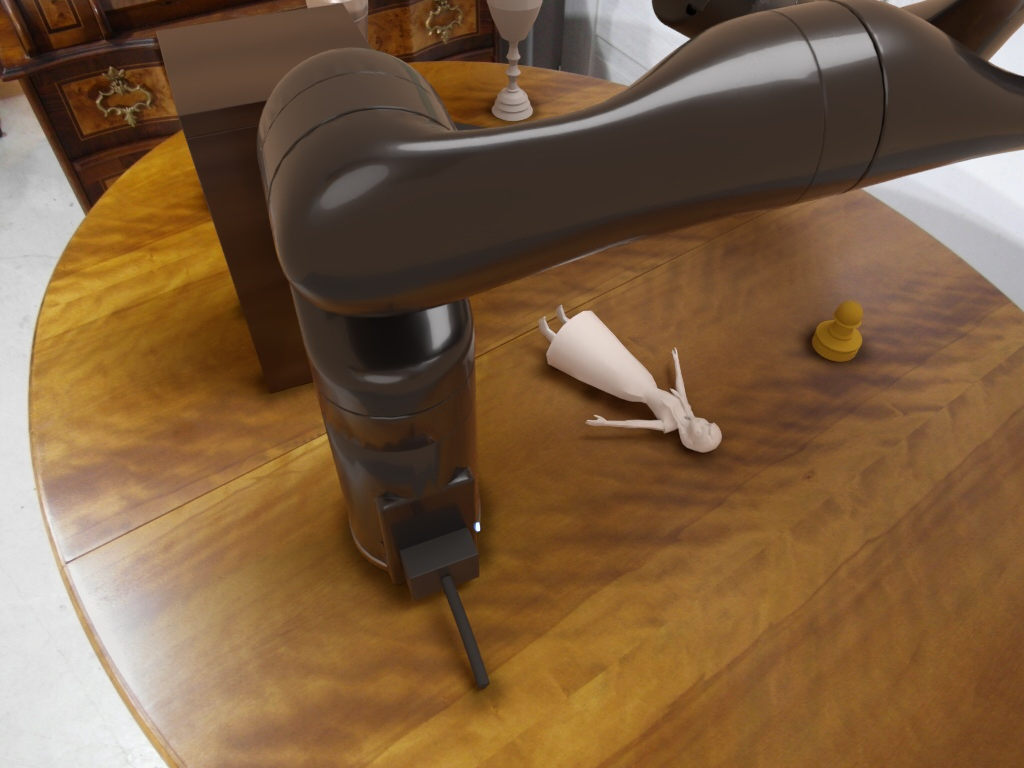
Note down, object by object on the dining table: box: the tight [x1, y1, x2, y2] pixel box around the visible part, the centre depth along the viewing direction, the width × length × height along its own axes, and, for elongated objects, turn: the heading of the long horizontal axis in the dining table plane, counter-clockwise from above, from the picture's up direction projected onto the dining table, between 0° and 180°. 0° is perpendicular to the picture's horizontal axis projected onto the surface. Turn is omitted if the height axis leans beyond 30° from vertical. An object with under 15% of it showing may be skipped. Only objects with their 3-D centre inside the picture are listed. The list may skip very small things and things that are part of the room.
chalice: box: [486, 0, 544, 122], centre depth 88 cm, size 7×7×18 cm
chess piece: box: [811, 300, 864, 363], centre depth 67 cm, size 4×4×5 cm
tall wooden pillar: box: [155, 3, 374, 394], centre depth 60 cm, size 12×13×25 cm
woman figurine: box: [538, 304, 723, 453], centre depth 64 cm, size 12×4×18 cm
